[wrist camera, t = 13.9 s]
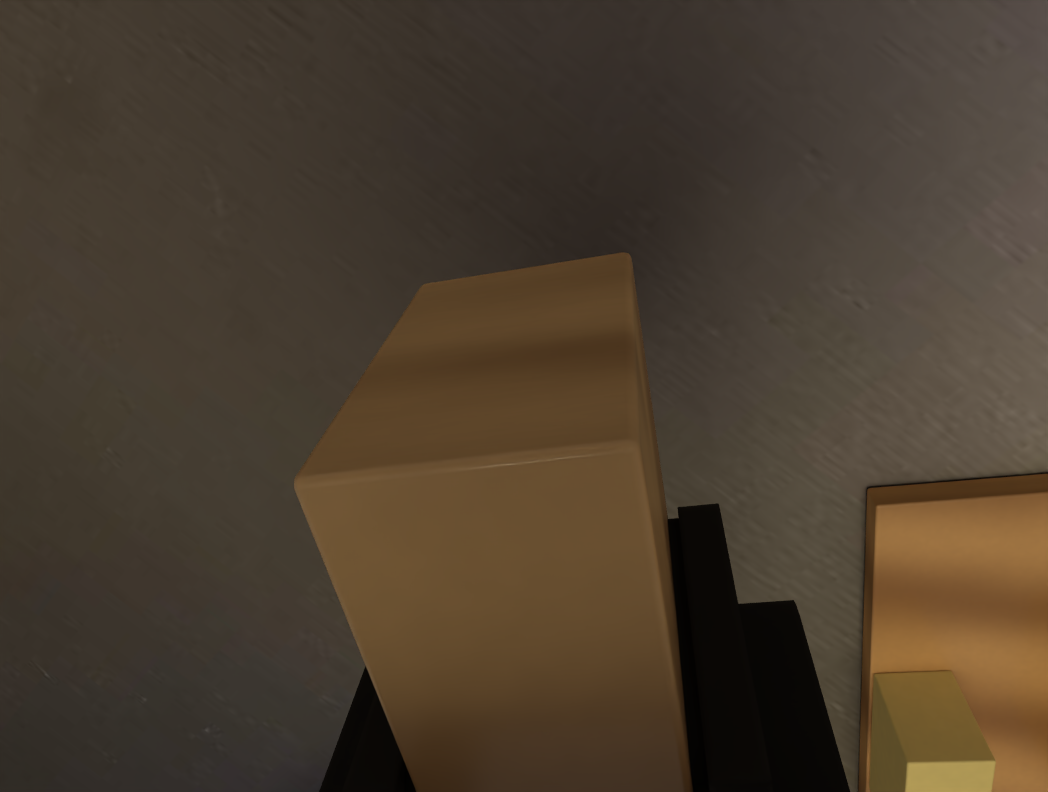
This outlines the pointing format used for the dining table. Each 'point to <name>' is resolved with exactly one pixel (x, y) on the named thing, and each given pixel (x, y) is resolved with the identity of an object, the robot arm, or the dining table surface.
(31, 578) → the dining table surface
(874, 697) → the butter slice
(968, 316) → the dining table surface
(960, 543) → the board
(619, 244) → the dining table surface
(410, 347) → the knife
